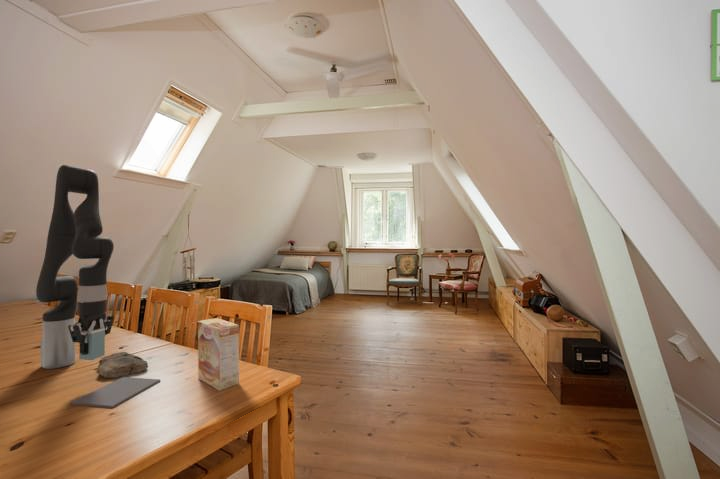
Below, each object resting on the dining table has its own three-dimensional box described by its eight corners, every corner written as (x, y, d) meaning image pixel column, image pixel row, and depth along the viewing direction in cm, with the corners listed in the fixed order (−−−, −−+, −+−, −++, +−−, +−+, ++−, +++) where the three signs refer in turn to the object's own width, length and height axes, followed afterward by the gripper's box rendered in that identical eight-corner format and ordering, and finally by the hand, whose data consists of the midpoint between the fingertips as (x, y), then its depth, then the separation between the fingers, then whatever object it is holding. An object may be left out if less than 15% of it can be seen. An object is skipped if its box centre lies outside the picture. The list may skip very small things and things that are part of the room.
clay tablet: (93, 366, 127) (100, 382, 113) (93, 353, 127) (100, 367, 113) (137, 358, 137) (149, 371, 122) (138, 346, 137) (149, 358, 122)
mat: (70, 404, 97) (70, 402, 97) (123, 378, 115) (123, 377, 115) (112, 408, 95) (112, 405, 95) (160, 381, 113) (160, 379, 113)
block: (79, 359, 108) (79, 330, 108) (92, 354, 112) (93, 327, 112) (91, 360, 107) (91, 331, 107) (104, 355, 112) (104, 328, 112)
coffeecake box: (197, 378, 115) (197, 320, 115) (217, 372, 120) (217, 317, 120) (218, 391, 105) (218, 328, 105) (239, 384, 111) (239, 324, 111)
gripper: (102, 294, 117) (102, 343, 117) (59, 302, 103) (59, 358, 103) (121, 295, 116) (121, 345, 116) (81, 303, 102) (80, 360, 102)
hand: (92, 351), depth 110 cm, fingers closed on block, 4 cm apart
